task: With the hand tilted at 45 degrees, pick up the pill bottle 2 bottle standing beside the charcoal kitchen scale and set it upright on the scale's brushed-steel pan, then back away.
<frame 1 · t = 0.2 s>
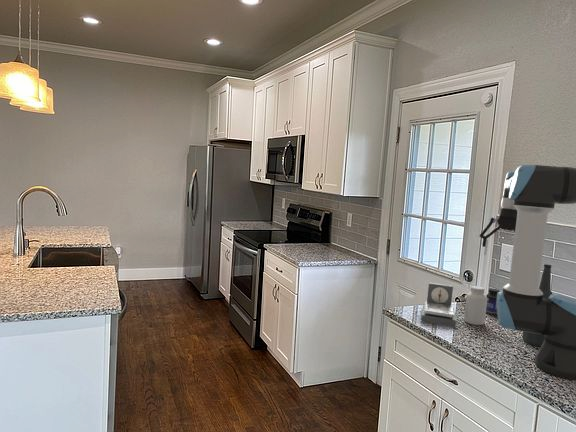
hand: (501, 257, 188), 27 cm above the worktop, tool pointing down, fingers open, 13 cm apart
scale: (437, 318, 185), on the worktop
pan: (439, 309, 184), point 4 cm above the worktop, slide at -0.4 cm
pill bottle 2: (474, 322, 184), on the worktop
pill bottle: (491, 313, 199), on the worktop
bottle: (537, 343, 164), on the worktop
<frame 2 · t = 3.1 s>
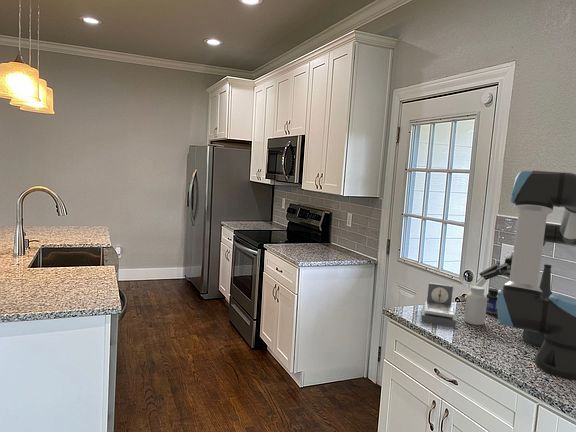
hand: (486, 293, 185), 12 cm above the worktop, tool tilted 45°, fingers open, 13 cm apart
nothing on the worktop moved.
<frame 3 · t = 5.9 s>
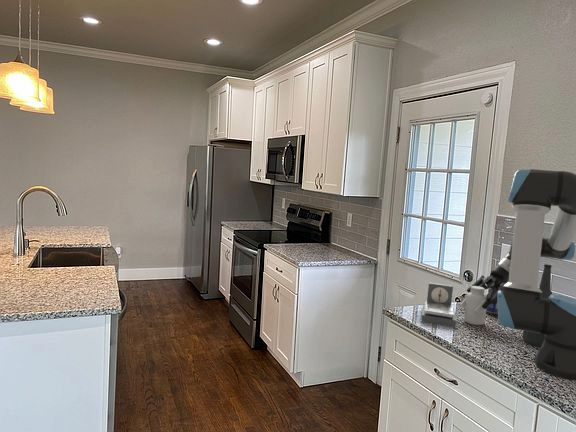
hand: (469, 309, 182), 6 cm above the worktop, tool tilted 45°, fingers closed on pill bottle 2, 8 cm apart
pill bottle 2: (474, 322, 184), on the worktop, touching gripper
everything else where it was.
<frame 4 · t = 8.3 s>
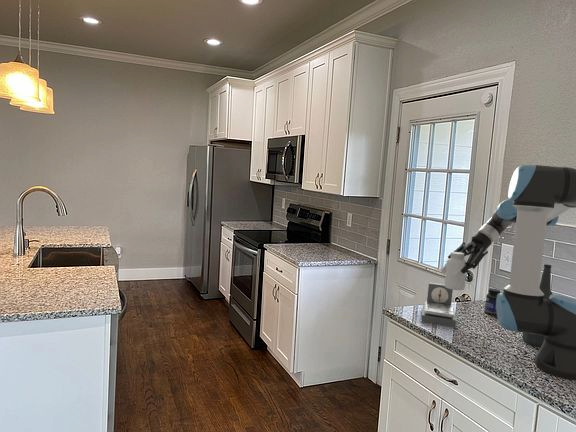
hand: (448, 274, 182), 19 cm above the worktop, tool tilted 45°, fingers closed on pill bottle 2, 8 cm apart
pill bottle 2: (454, 288, 184), point 14 cm above the worktop, touching gripper
everything else where it was.
when the fingers open (13 cm above the worktop, at t = 11.1 s): pill bottle 2 drops 2 cm, resting on pan.
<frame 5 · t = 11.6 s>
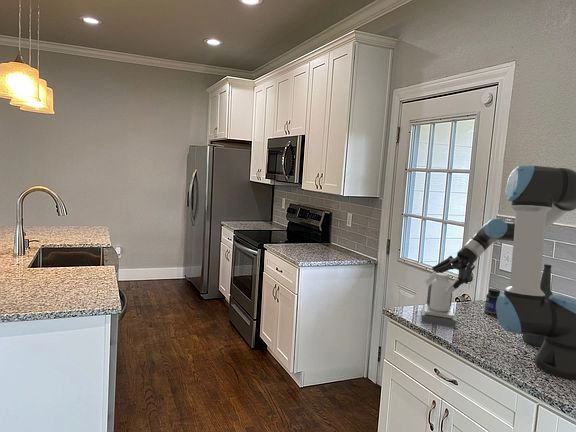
hand: (436, 288, 181), 14 cm above the worktop, tool tilted 45°, fingers open, 13 cm apart
pan: (438, 310, 184), point 4 cm above the worktop, slide at -0.8 cm, touching pill bottle 2
pill bottle 2: (439, 309, 183), point 4 cm above the worktop, touching pan
everything else where it was.
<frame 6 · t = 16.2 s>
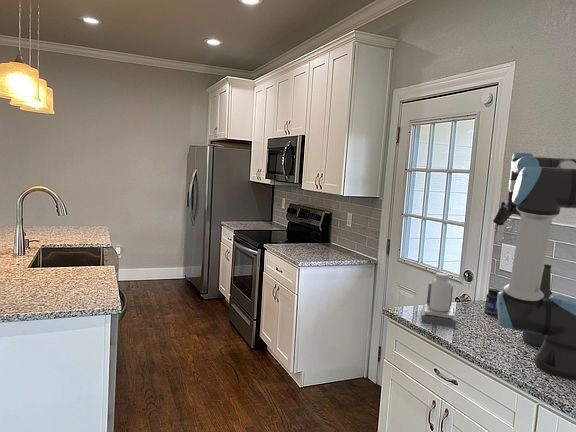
hand: (512, 243, 179), 35 cm above the worktop, tool pointing down, fingers open, 13 cm apart
nothing on the worktop moved.
at the end: pill bottle 2 inside the target area on the scale (0.6 cm from its centre), point 4.4 cm above the scale's base; pill bottle 2 tilted 0°; the gripper is holding nothing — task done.
